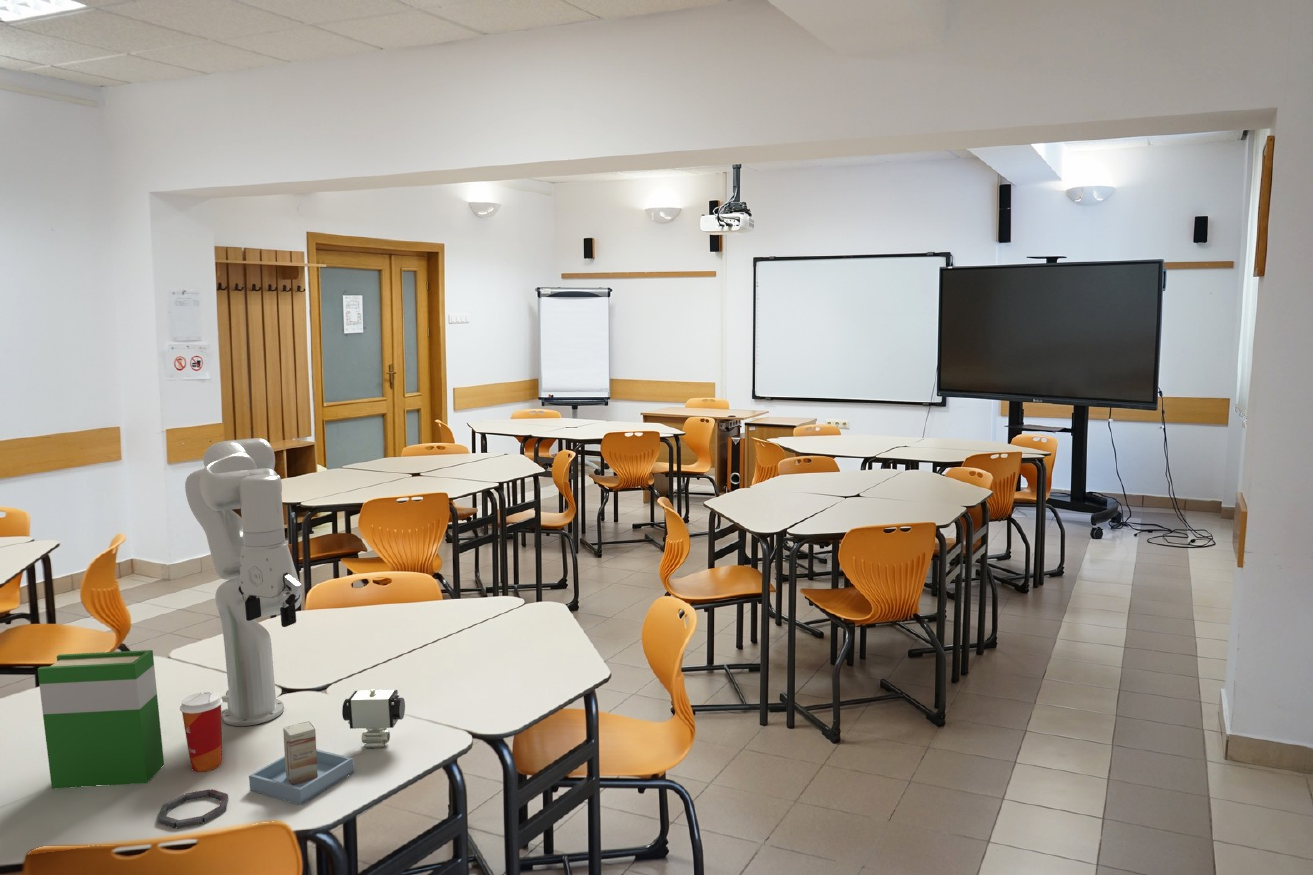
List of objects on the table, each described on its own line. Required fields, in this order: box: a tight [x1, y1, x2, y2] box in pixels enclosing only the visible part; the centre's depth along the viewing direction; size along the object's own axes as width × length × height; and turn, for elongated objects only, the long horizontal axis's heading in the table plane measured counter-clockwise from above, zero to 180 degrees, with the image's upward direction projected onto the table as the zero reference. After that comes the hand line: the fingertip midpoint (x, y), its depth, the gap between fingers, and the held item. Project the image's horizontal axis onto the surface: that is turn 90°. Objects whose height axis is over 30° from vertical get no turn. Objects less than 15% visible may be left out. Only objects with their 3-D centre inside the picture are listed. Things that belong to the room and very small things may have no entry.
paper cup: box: [179, 691, 224, 773], centre depth 187 cm, size 8×8×14 cm
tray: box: [248, 748, 355, 806], centre depth 181 cm, size 13×13×3 cm
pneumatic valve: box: [341, 688, 406, 749], centre depth 195 cm, size 6×12×12 cm, turn 90°
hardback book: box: [37, 649, 165, 790], centre depth 183 cm, size 18×7×24 cm, turn 94°
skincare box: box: [282, 720, 318, 785], centre depth 180 cm, size 5×4×10 cm
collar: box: [157, 788, 229, 829], centre depth 171 cm, size 11×11×1 cm
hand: (271, 621), depth 188 cm, fingers open, 9 cm apart
